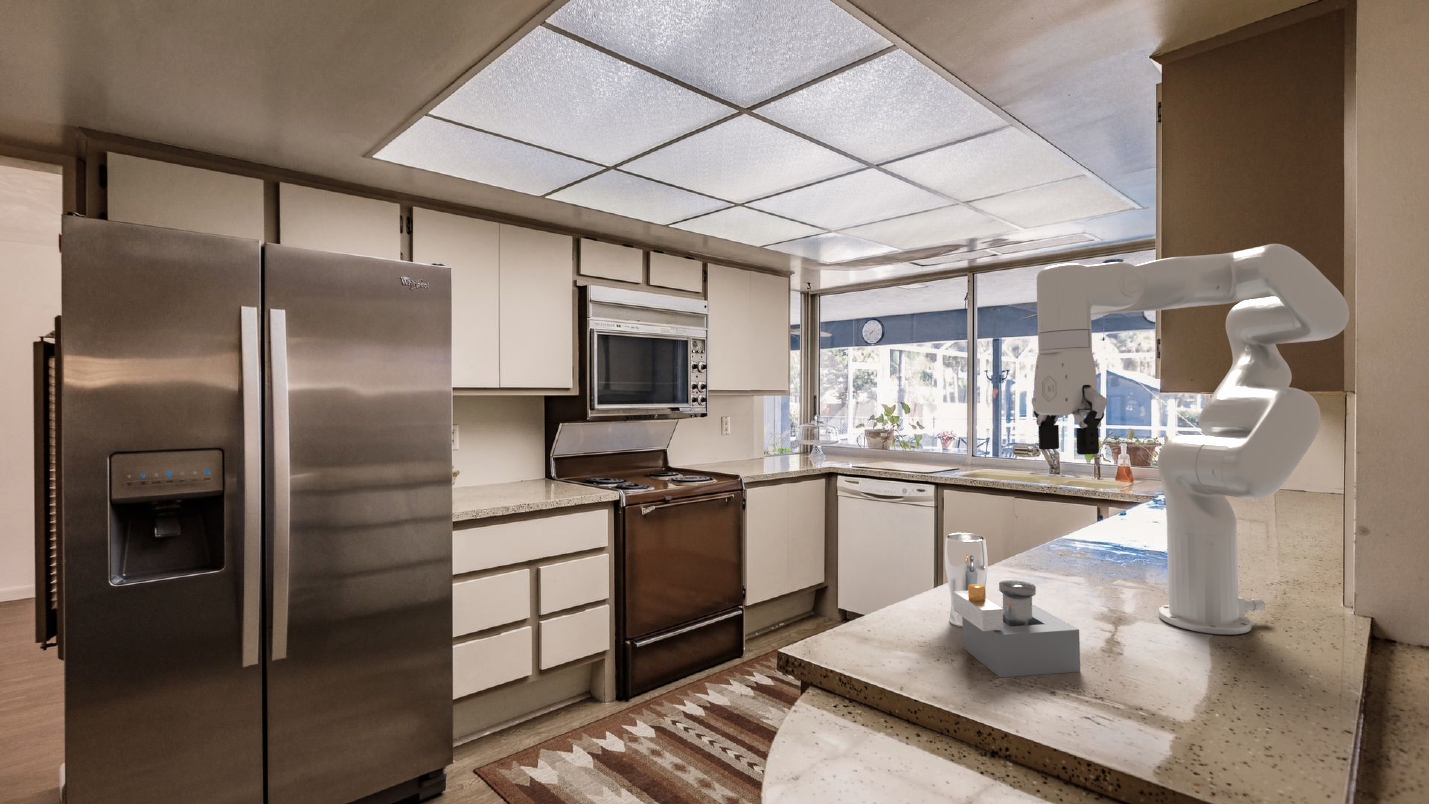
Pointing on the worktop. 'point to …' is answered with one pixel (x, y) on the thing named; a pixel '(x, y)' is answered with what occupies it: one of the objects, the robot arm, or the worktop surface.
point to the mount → (1026, 646)
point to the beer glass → (964, 565)
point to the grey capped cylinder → (1017, 602)
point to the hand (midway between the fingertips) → (1067, 451)
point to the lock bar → (978, 608)
